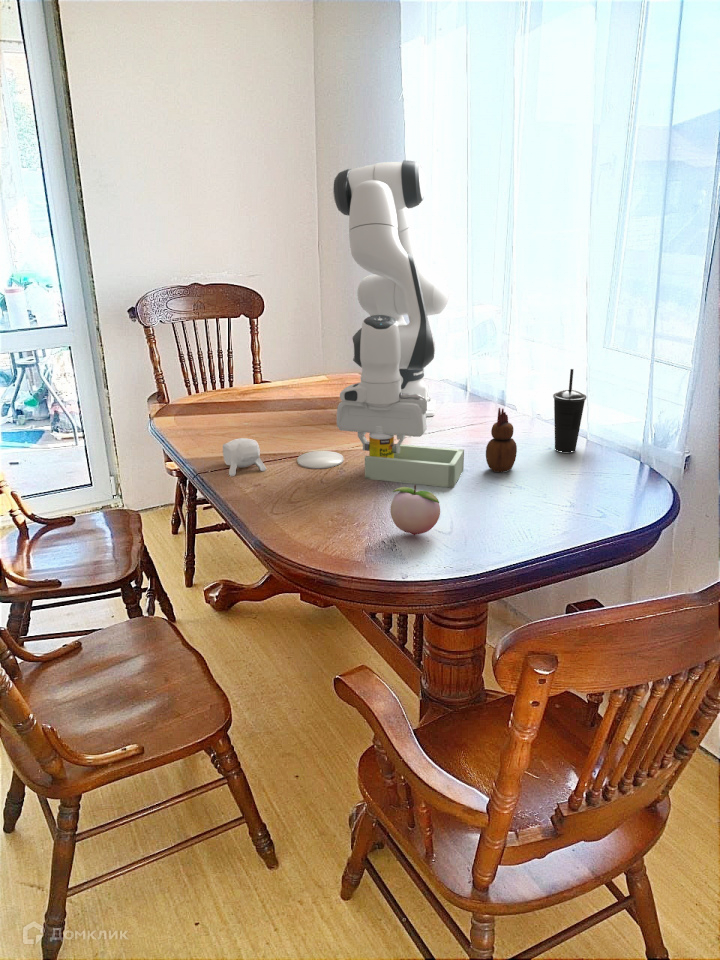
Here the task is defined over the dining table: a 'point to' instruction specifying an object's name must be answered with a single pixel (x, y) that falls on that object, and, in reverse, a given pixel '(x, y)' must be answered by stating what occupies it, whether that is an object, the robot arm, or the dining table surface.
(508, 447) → the wooden figurine
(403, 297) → the robot arm
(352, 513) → the dining table surface
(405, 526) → the decorative fruit
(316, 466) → the white round disc
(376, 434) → the supplement bottle
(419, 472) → the green rectangular tray
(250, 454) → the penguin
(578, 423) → the drinking cup
